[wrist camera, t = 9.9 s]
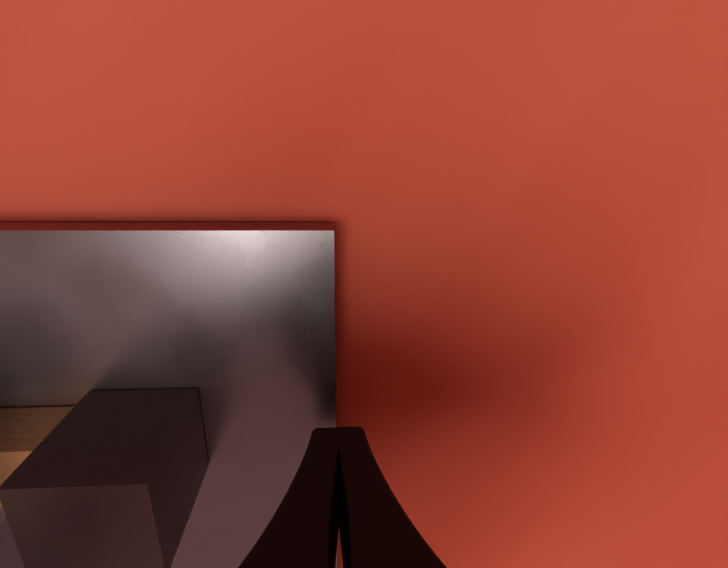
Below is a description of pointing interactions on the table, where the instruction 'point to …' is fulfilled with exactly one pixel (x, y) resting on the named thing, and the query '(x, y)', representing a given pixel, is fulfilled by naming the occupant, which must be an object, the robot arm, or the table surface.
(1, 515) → the pin guide
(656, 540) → the table surface
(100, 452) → the pin
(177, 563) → the base plate
